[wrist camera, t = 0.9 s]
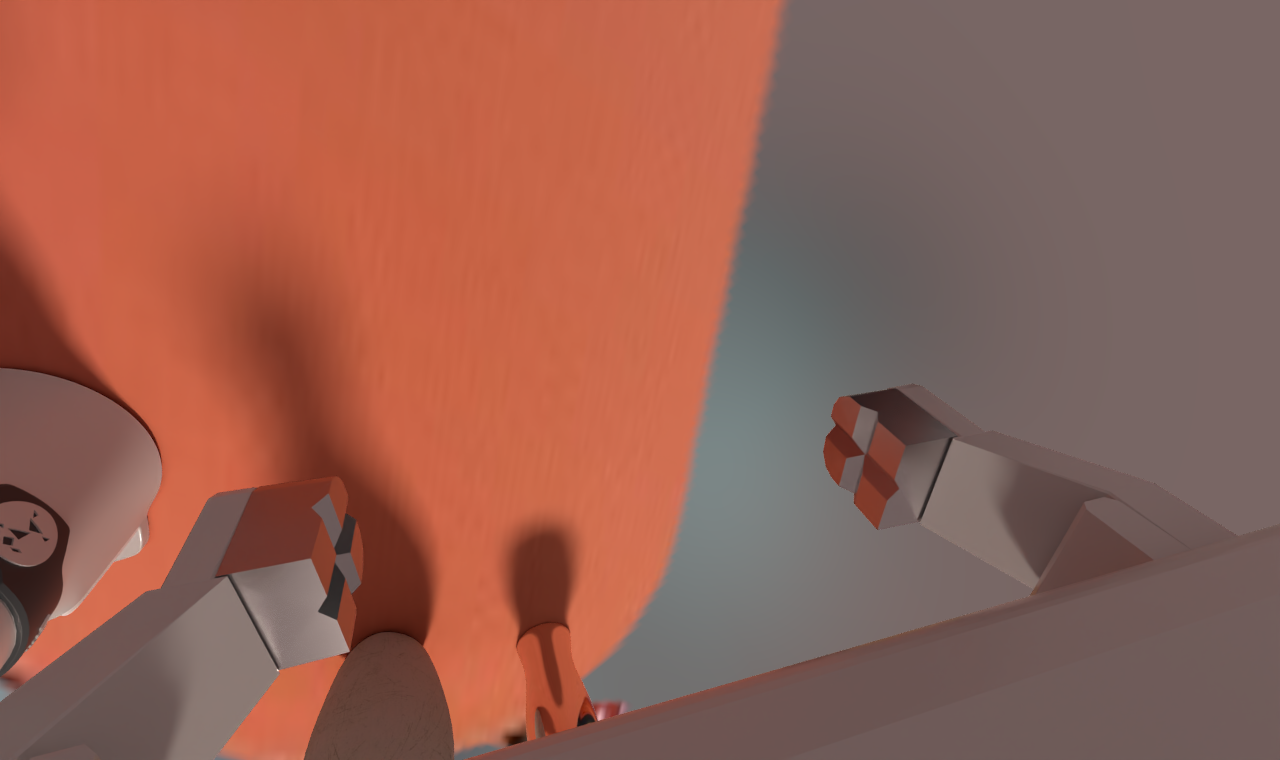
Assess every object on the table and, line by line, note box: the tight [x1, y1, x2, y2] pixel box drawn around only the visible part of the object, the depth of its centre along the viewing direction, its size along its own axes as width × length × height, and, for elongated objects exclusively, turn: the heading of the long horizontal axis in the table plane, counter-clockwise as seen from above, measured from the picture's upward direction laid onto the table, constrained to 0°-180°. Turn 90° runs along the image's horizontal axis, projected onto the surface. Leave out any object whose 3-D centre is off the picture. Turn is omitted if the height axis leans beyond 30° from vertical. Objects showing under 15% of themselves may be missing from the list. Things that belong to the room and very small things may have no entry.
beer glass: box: [517, 623, 598, 741], centre depth 57 cm, size 7×7×15 cm
